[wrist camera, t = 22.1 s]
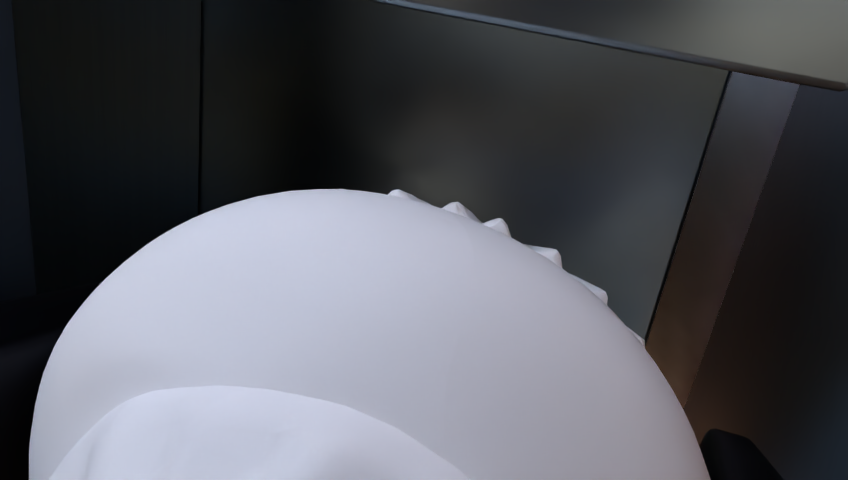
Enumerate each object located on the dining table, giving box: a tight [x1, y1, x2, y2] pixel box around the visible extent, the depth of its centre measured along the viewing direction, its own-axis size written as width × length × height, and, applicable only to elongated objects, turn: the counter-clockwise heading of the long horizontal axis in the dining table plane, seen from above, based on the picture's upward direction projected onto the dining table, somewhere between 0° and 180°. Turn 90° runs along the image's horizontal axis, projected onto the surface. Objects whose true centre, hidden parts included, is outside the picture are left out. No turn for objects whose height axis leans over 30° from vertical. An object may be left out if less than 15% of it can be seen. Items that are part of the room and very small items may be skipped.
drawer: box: [12, 0, 848, 480], centre depth 12 cm, size 18×11×9 cm, turn 82°
